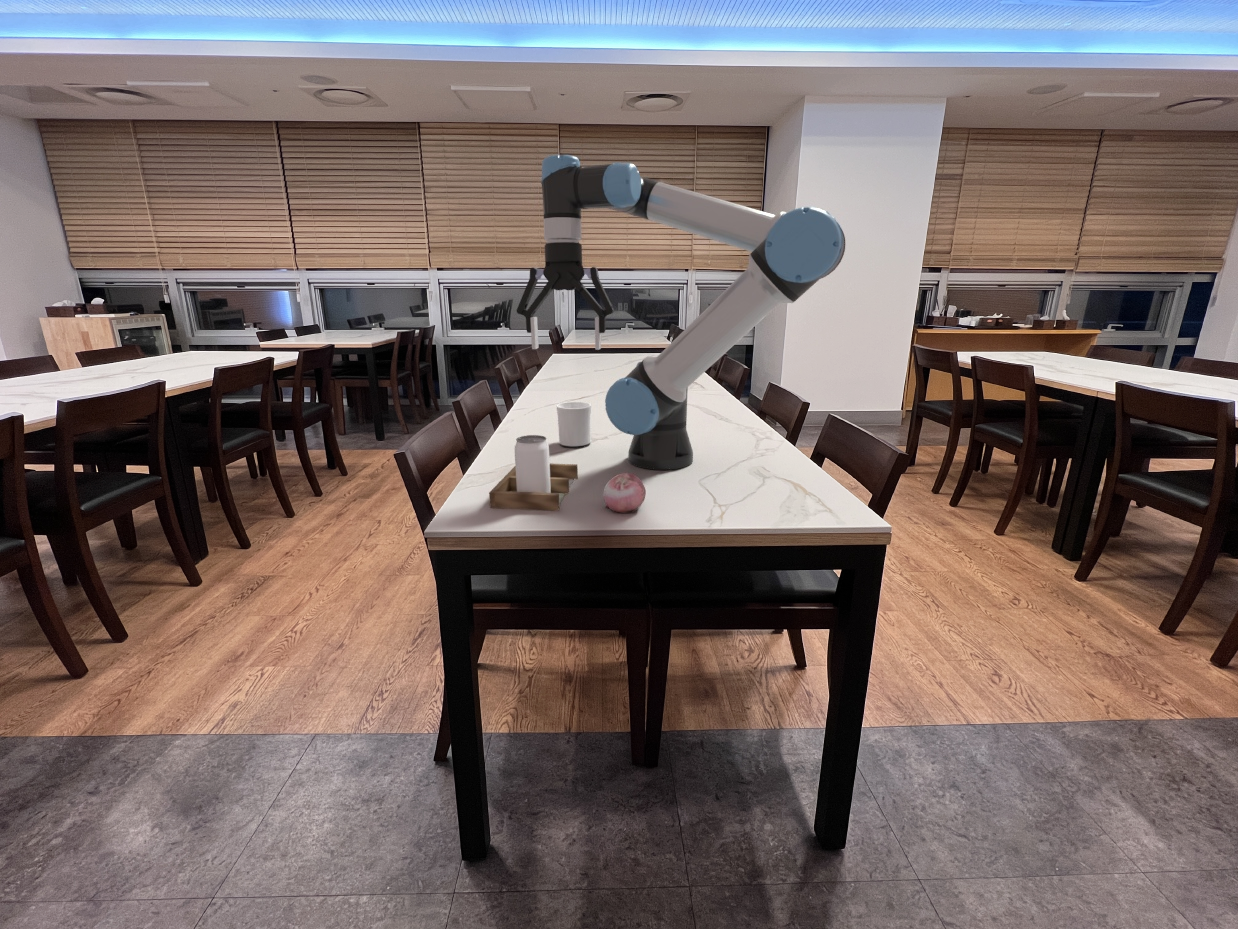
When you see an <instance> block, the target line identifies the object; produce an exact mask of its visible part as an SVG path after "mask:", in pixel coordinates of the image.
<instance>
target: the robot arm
mask: <svg viewBox="0 0 1238 929" xmlns="http://www.w3.org/2000/svg"><path fill="white" fill-rule="evenodd" d="M540 180H541V181H540V183H541V184H540V185H541V188H542V189H541V190H542V205H543V206H542V207H543V209H542V210H543V239H544V240H545V242H546V243H545V245H544V262H545V263H544V268H543V269H542V268H537V267H531V268H530V269H529V279H528V281H527V284H526V286H525V289H524V291H523V293H522V296H521V299H520V301H519V303H518V306H517V309H516V314H518V315H522V316H524V317H525V325H526V326H525V327H526V330H525V331H526V332H527V334H531V336H530V338H531V350H537V349H539V330H538V329H539V327H538V316H534V315H535V314H536V312H537V311H538V309H540V307H541V306H542V304H543V303H544V302H545V300H546V299H547V298H548V296H549V295H550V294H551V293H552V292H553V291H554V290H556V291H564V290H565V291H574V290H576V291H577V292H578V293H579V294H580V295H581V296H582V298H583V299H584V300H585V301H586V303H587V304H588V306H590V308H592V310H593V311H594V312H595V313H596V315H597V316H596V317H594V338H595V340H594V341H595V342H594V343H595V346H594V347H595V351H596V350H597V351H599V350H601V349H602V340H601V339H602V338H601V337H602V336H601V334H604V333H606V330H607V328H606V326H607V324H606V323H607V322H606V319H607V316H608V315H611V314H613V313H614V312H615V309H614V307H613V304H612V302H611V300H610V298H609V296H608V294H607V293H606V290H605V288H604V286H603V284H602V282H601V280H600V277H599V275H600V274H599V268H597V267H595V266H592V267H591V268H584V266H583V246H582V243H580V241H581V240H582V235H583V234H582V210H588V209H589V210H591V209H593V210H594V209H608V210H614V211H617V212H621V213H624V214H628V215H630V216H633V217H637V218H640V219H644V220H649V221H651V222H655V223H658V224H661V225H665V226H668V227H670V228H673V229H677V230H680V231H683V232H687V233H690V234H693V235H696V236H698V237H699V236H700V237H703V238H704V239H705V238H706V239H709V240H711V241H715V242H719V243H721V244H725V245H728V246H731V247H733V248H736V249H737V248H738V249H740V250H744V251H747V252H750V254H749V255H748V266H747V269H745V270H744V271H743V272H742V273H741V274H740V275H739V276H738V277H737V278H736V279H735V280H734V281H733V282H732V283H731V284H730V285H729V286H728V287H727V288H726V289H725V290H724V291H723V292H721V294H720V295H719V296H718V297H716V299H715V300H714V301H713V302H711V303H710V304H709V305H708V306H707V307H706V309H705V310H703V311H702V312H701V313H700V314H699V315H698V316H697V317H696V318H695V319H694V320H693V321H691V323H690V324H689V325H688V326H687V327H686V328H685V329H684V330H683V331H682V332H681V333H680V334H679V335H678V336H677V337H676V338H674V340H673V341H672V342H671V343H669V345H668V346H667V347H665V349H664V350H662V351H661V352H660V353H659V354H658V355H657V356H646V357H644V359H642V360H641V361H638V362H637V364H636V366H635V367H634V368H633V369H632V370H631V371H630V372H629V373H628V374H627V375H626V376H625V377H622V378H619V379H618V380H616V381H615V382H614V383H613V384H612V385H611V386H610V387H609V389H608V390H607V392H606V395H605V398H604V403H605V411H606V412H605V413H606V415H607V418H608V419H609V421H610V422H611V424H612V425H613V426H614V427H615V428H616V429H618V430H619V431H620V432H622V433H623V434H627V435H631V436H632V439H631V442H630V445H629V449H628V458H627V459H628V462H629V463H630V464H631V465H633V466H635V467H638V468H643V469H647V470H659V471H660V470H661V471H663V470H665V471H666V470H676V469H682V468H685V467H688V466H690V465H692V463H693V461H694V450H693V448H692V447H693V446H692V444H691V440H690V437H689V434H688V431H687V421H688V419H687V415H688V388H689V387H690V386H691V385H692V384H693V383H694V382H695V381H697V380H698V378H699V377H701V376H702V375H703V374H704V373H705V372H706V371H708V369H709V368H711V367H712V366H713V365H714V364H715V363H716V362H717V361H719V359H721V358H722V357H723V356H724V355H725V354H726V353H727V352H728V351H729V350H730V349H731V348H733V347H734V346H735V345H736V344H737V343H738V342H739V341H740V340H742V339H743V338H744V337H745V336H747V334H748V333H750V331H751V330H752V329H754V328H755V327H756V326H757V325H758V324H759V323H760V322H761V321H762V320H763V319H764V318H766V317H767V316H768V315H769V314H770V313H771V312H773V310H775V308H778V306H779V305H781V304H794V303H795V302H796V301H797V300H798V299H800V298H801V297H802V296H803V295H804V294H805V293H806V292H807V291H808V290H809V289H810V288H812V287H813V286H814V285H815V284H817V282H819V280H821V279H823V278H826V277H827V276H829V275H830V274H831V273H833V272H834V271H835V270H836V268H838V267H839V265H840V263H841V262H842V260H843V258H844V255H845V252H846V251H845V250H846V236H845V234H844V231H843V229H842V227H841V225H840V224H839V222H838V220H837V219H836V217H834V216H833V215H832V214H830V213H829V212H828V211H826V210H825V209H823V208H819V207H816V206H803V207H798V208H795V209H792V210H790V211H788V212H787V211H781V212H780V213H778V214H773V213H769V212H765V211H762V210H758V209H755V208H753V207H752V208H751V207H748V206H745V205H741V204H738V203H734V202H732V201H727V200H724V199H719V198H717V197H713V196H710V195H706V194H703V193H699V192H697V191H693V190H689V189H686V188H682V187H679V186H675V185H671V184H667V183H665V182H661V181H657V180H655V179H651V178H648V177H644V176H641V175H640V171H639V170H638V168H637V166H636V165H635V164H633V163H631V162H622V163H621V162H613V163H607V164H598V165H597V164H595V165H588V166H585V165H584V166H582V165H581V162H580V160H579V158H578V157H577V156H576V155H570V154H554V155H549V156H546V157H545V158H543V160H542V162H541V179H540ZM585 275H586V276H587V278H588V279H589V280H591V282H592V284H593V286H594V288H595V291H596V292H597V294H598V297H599V298H600V301H601V303H602V305H603V307H604V309H603V307H602V306H601V305H600V304H599V303H598V301H597V300H596V299H595V298H594V296H593V295H592V294H591V293H590V292H589V291H588V290H587V288H586V287H585V285H584V284H583V283H582V280H583V278H584V277H585ZM542 276H544V278H545V279H546V280H547V283H546V284H545V285H544V286H543V288H542V290H541V291H540V292H539V293H538V295H537V297H535V299H534V301H533V302H532V303H531V305H529V303H530V301H531V299H532V296H533V294H534V291H535V289H536V286H537V284H538V280H540V279H542ZM528 306H529V307H528ZM527 308H528V309H527Z"/></svg>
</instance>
